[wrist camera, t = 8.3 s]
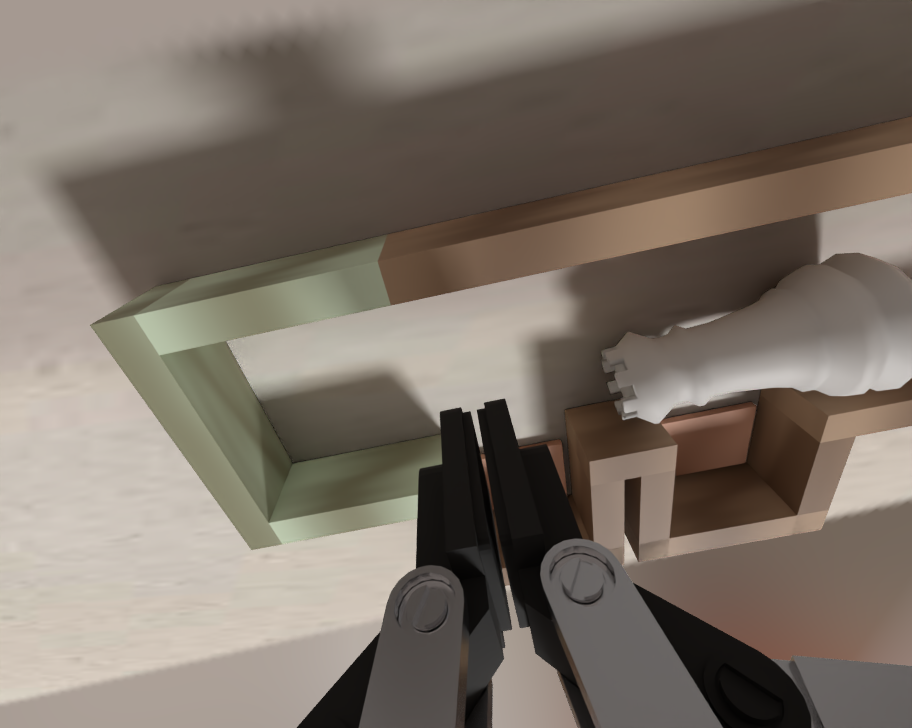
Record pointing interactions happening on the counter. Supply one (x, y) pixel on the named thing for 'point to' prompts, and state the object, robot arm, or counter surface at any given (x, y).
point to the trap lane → (588, 427)
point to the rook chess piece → (778, 342)
